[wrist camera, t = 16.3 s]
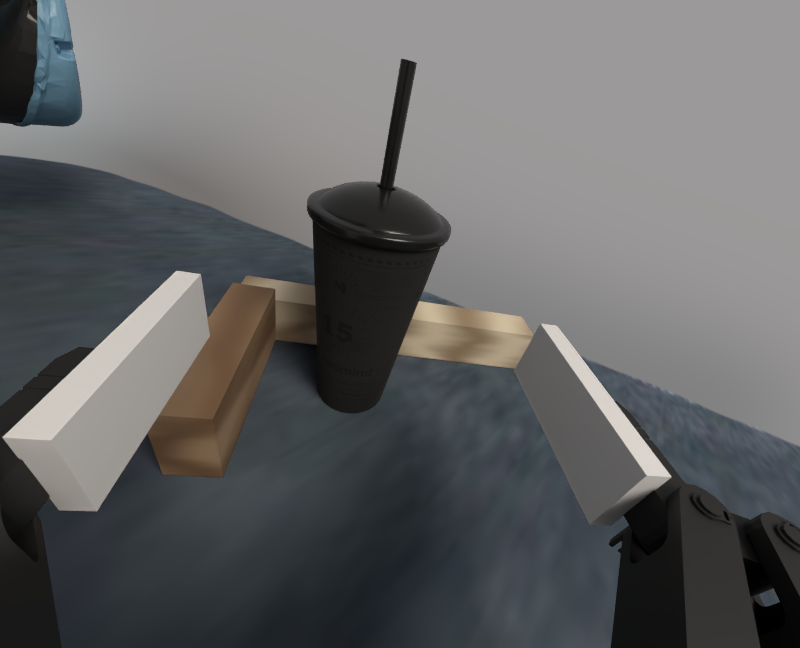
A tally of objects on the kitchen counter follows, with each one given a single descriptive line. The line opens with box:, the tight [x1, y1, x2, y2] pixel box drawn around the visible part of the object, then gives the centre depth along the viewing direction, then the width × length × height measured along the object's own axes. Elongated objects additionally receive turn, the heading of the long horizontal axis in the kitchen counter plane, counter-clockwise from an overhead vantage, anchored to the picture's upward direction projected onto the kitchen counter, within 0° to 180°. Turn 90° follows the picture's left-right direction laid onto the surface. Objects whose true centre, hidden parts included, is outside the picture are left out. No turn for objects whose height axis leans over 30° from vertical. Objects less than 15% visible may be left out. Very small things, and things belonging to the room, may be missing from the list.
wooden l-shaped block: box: [148, 276, 534, 477], centre depth 24 cm, size 25×15×5 cm, turn 93°
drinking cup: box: [307, 59, 451, 413], centre depth 20 cm, size 8×8×20 cm
